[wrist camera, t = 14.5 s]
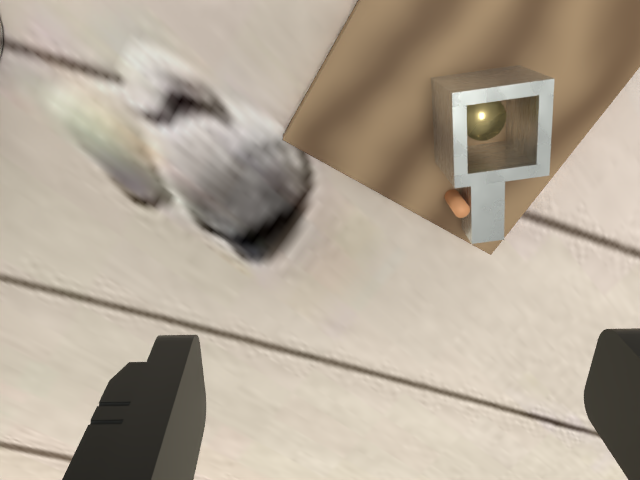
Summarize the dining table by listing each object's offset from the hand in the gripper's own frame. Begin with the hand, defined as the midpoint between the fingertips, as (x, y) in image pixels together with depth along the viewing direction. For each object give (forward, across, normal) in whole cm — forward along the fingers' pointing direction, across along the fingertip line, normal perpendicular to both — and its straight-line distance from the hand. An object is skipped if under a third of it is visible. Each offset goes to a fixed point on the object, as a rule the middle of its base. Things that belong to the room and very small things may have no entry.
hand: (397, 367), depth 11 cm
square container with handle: (+32, -12, +5) cm, 34 cm away
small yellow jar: (+32, -11, +2) cm, 33 cm away
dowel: (+32, -10, +9) cm, 34 cm away
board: (+33, -11, -1) cm, 35 cm away
